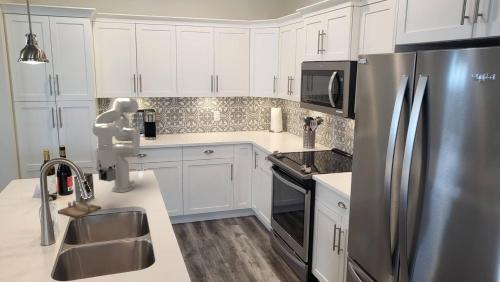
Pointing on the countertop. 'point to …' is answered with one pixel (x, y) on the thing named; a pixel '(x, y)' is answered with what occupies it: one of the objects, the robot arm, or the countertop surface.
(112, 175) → the dark grey block
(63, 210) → the pin tray
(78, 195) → the coffee box
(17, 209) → the countertop surface
